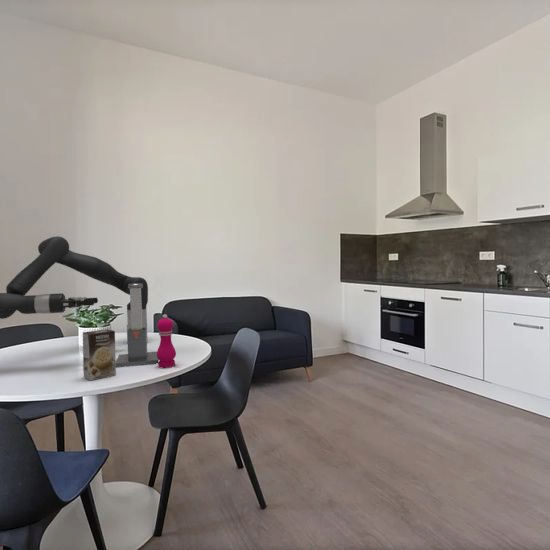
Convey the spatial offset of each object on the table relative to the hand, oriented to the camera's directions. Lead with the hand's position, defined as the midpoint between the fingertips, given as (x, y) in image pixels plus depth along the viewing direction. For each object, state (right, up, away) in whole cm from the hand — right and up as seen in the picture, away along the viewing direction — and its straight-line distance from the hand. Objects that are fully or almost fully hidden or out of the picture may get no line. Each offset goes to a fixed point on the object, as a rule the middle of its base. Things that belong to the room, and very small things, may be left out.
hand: (95, 301), depth 157 cm
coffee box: (+9, -26, -17) cm, 32 cm away
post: (+15, -17, +5) cm, 23 cm away
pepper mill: (+29, -25, -4) cm, 39 cm away
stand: (+15, -25, +5) cm, 29 cm away
